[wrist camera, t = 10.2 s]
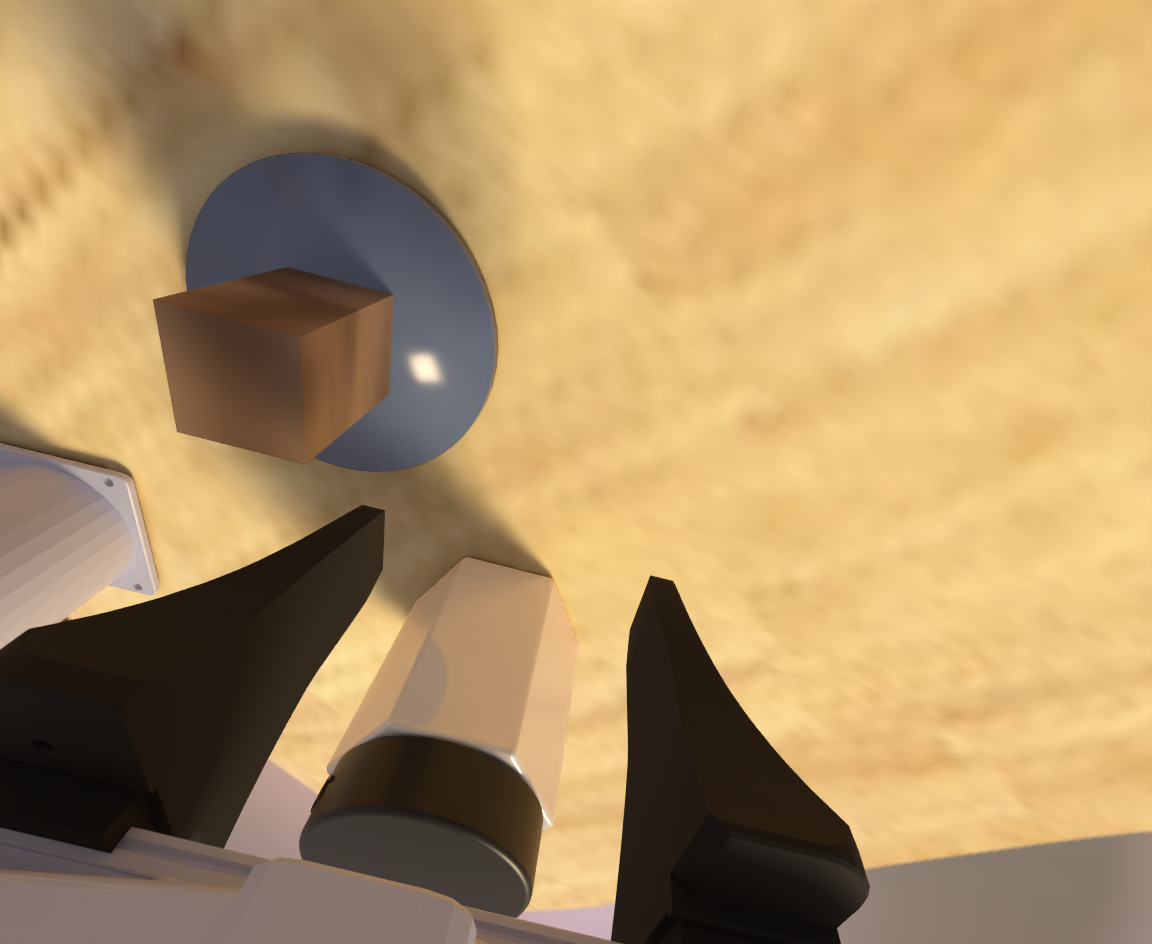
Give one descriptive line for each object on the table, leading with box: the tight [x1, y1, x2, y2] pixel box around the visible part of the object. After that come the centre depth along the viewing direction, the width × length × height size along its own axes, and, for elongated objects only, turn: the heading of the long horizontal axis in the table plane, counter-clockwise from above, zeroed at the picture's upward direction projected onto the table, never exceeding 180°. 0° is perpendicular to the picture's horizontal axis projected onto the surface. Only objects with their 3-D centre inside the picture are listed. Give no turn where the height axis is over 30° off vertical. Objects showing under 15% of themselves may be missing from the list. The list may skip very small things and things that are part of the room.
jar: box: [299, 557, 579, 918], centre depth 23 cm, size 9×8×12 cm
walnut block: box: [153, 267, 394, 464], centre depth 17 cm, size 4×4×6 cm
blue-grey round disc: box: [186, 153, 498, 472], centre depth 21 cm, size 12×12×1 cm
